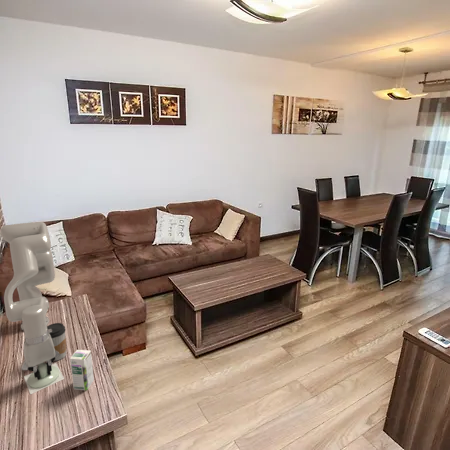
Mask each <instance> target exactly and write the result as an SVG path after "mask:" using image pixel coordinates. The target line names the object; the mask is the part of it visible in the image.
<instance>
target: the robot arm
mask: <svg viewBox="0 0 450 450" xmlns="http://www.w3.org/2000/svg"><path fill="white" fill-rule="evenodd" d="M48 229H49V228H48V226H47V224H46V223H45V222H44V221H33V222H23V223H14V224H13V223H12V224H4V225H3V226H2V227H0V235H1V237H2V239H3V240H4V241H5V242H7V243H8V244H9V250H10V257H11V263H12V270H13V277H12V279H11V280H10V282H8V284H7V286H6V288H5V290H4V294H3V301H4V307H5V308H4V309H5V315H6V319H7V320H8V321H9V322H13V323H15V322H20V321H22V323H21V324H20V329H21V330H22V331H23V332H24V338H25V340H24V341H23V356H24V361H23V363H22V365H21V368H20V369H21V370H22V371H30V372H32V373H33V372H34V376H35V378H36V377H37V379H38V380H39V379H40V376H39V371H38V368H37V366H38V365H39V364H41V363H46V364H47V370H48V374H49V375H51V372H50V371H52V367H51V365H52V364H54V362H55V361H54V360H55V358H57V357H58V356H59V355H60V353H59V352H58V351H57V350H55V349H54V344H53V341H52V338H51V336H50V334H49V333H50V332H52V329H47V326H48V325H49V323H50V317H48V316H47V311H48V310H49V307H50V303H49V299H48V298H47V297H45V296H43V295H42V292H41V290H40V289H39V287H37V286H40V285H44V284H45V285H46V284H49V283H53V281H55V278H56V272H55V263H54V257H53V252H52V250H51V248H52V244H51V238H50V235H49V230H48ZM15 290H17V293H18V298H19V301H14V300H13V297H14V295H13V294H14V292H15Z"/></svg>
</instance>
